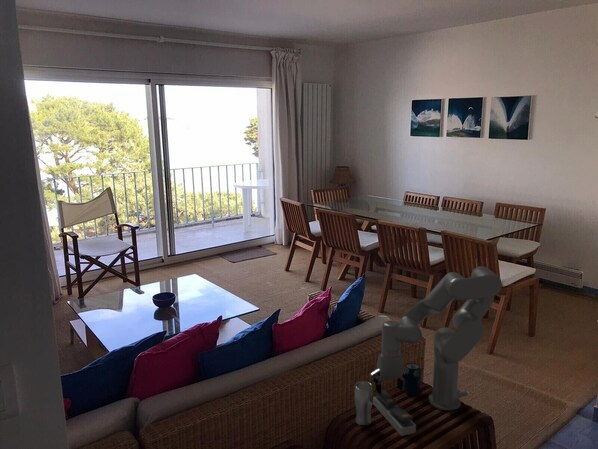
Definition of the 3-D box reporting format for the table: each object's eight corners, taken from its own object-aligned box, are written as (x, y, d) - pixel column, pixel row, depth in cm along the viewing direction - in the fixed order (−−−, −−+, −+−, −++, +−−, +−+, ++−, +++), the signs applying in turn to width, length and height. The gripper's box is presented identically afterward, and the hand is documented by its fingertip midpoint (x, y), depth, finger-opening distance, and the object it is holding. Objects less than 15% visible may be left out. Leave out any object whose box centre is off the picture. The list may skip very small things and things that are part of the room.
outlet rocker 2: (399, 410, 186) (399, 406, 186) (413, 419, 177) (412, 416, 177) (390, 411, 185) (389, 408, 185) (403, 421, 175) (403, 418, 175)
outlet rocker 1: (384, 392, 197) (384, 389, 197) (396, 404, 188) (396, 401, 188) (375, 394, 196) (375, 391, 196) (387, 406, 187) (387, 403, 187)
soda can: (422, 395, 203) (423, 368, 201) (406, 396, 202) (407, 369, 200) (416, 386, 210) (417, 361, 207) (401, 388, 209) (402, 362, 207)
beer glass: (372, 427, 181) (372, 390, 178) (353, 425, 182) (353, 389, 180) (373, 417, 188) (373, 381, 185) (355, 415, 189) (355, 380, 186)
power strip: (372, 403, 197) (372, 396, 197) (385, 401, 199) (386, 394, 198) (401, 436, 176) (401, 428, 175) (415, 432, 177) (415, 425, 177)
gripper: (405, 345, 200) (403, 383, 203) (367, 350, 195) (366, 389, 198) (414, 352, 193) (412, 391, 196) (375, 358, 188) (374, 398, 191)
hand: (389, 390), depth 197 cm, fingers open, 9 cm apart
